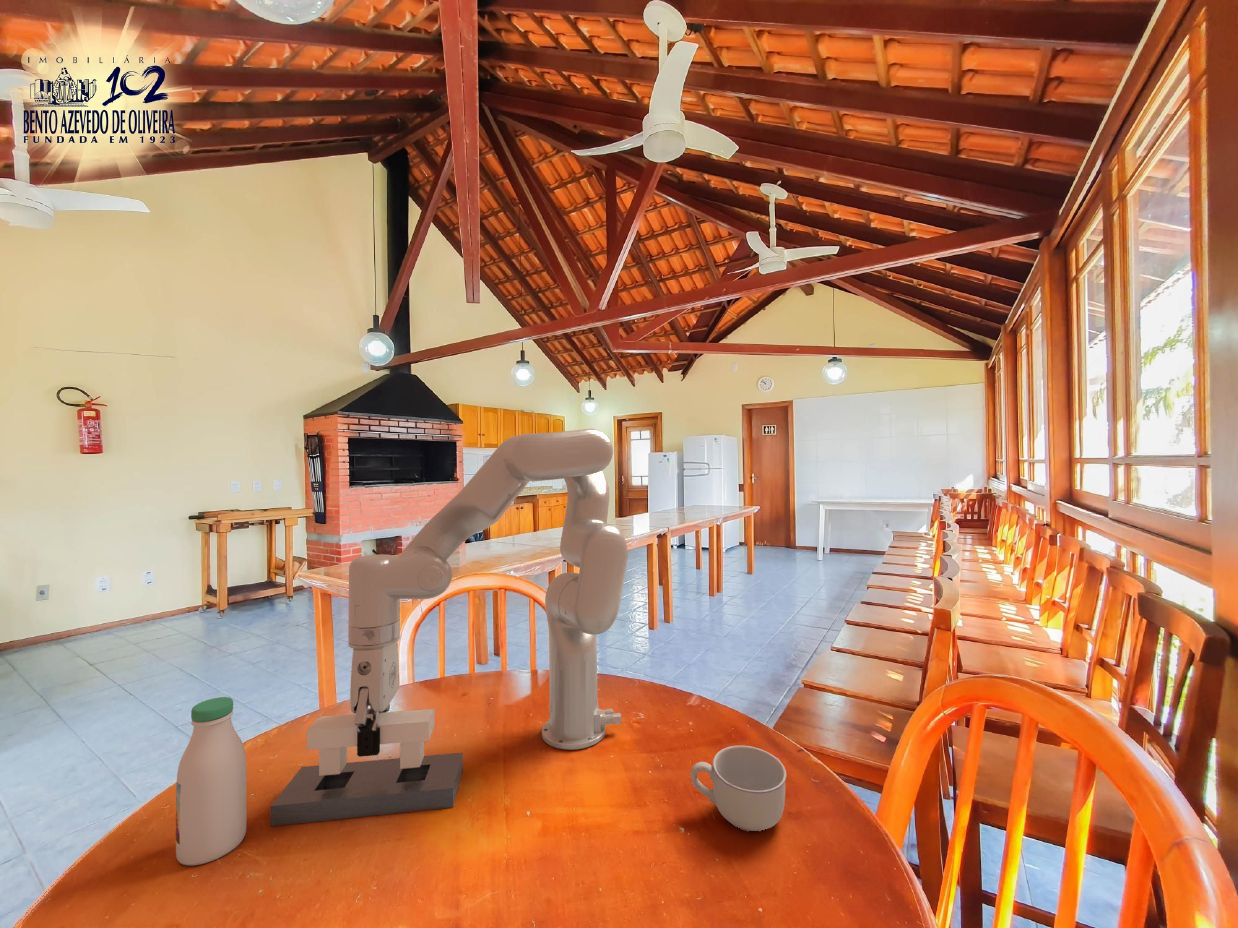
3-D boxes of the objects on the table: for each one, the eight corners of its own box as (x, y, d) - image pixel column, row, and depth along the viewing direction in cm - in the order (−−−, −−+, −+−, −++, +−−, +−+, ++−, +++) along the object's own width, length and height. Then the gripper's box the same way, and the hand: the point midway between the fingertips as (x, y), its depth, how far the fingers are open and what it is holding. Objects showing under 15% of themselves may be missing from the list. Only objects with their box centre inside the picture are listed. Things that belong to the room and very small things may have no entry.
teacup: (787, 803, 79) (786, 751, 80) (786, 852, 69) (785, 793, 69) (698, 785, 84) (698, 736, 84) (685, 829, 74) (685, 774, 74)
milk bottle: (259, 828, 74) (260, 691, 75) (212, 869, 67) (213, 717, 67) (211, 825, 75) (212, 689, 75) (159, 865, 68) (160, 715, 68)
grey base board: (462, 769, 89) (462, 752, 89) (453, 807, 79) (453, 787, 79) (301, 784, 85) (301, 766, 85) (270, 826, 75) (270, 805, 75)
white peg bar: (434, 753, 85) (434, 708, 85) (428, 768, 81) (428, 721, 81) (318, 762, 83) (319, 716, 83) (306, 779, 78) (307, 730, 78)
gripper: (383, 649, 74) (382, 774, 74) (411, 616, 91) (411, 719, 91) (328, 652, 73) (327, 779, 73) (367, 618, 90) (366, 722, 90)
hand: (373, 744), depth 82 cm, fingers closed on white peg bar, 4 cm apart
